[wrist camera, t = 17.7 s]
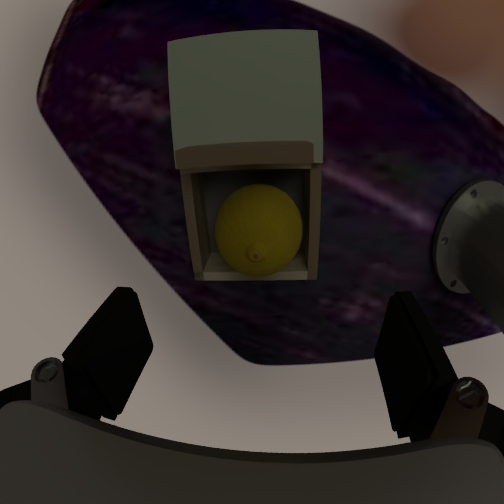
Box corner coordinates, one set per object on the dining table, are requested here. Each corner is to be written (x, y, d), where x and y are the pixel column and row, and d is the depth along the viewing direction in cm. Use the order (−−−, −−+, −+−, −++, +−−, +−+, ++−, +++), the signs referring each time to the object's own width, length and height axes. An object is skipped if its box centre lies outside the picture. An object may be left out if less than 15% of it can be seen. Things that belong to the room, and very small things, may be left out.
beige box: (308, 61, 17) (317, 47, 13) (309, 252, 24) (316, 279, 20) (190, 68, 18) (172, 57, 14) (207, 253, 25) (195, 280, 21)
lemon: (216, 183, 21) (188, 218, 14) (288, 167, 20) (299, 193, 13) (235, 248, 23) (220, 307, 16) (302, 234, 22) (316, 290, 15)
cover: (315, 34, 13) (324, 17, 10) (320, 160, 16) (331, 169, 13) (171, 44, 13) (152, 31, 11) (179, 166, 17) (161, 176, 14)
